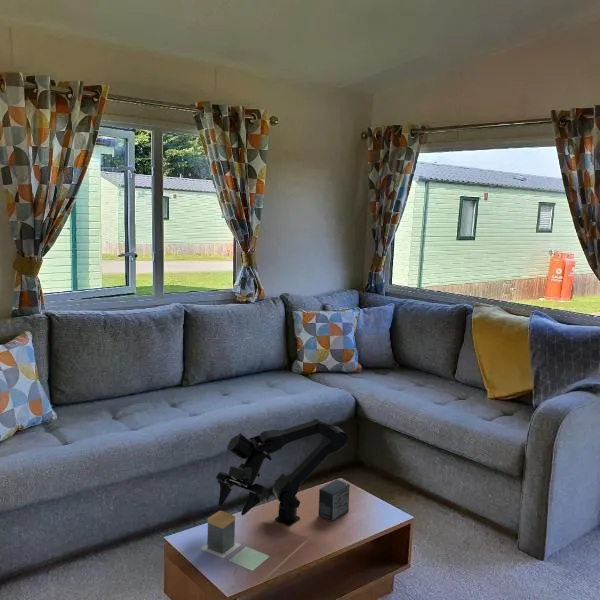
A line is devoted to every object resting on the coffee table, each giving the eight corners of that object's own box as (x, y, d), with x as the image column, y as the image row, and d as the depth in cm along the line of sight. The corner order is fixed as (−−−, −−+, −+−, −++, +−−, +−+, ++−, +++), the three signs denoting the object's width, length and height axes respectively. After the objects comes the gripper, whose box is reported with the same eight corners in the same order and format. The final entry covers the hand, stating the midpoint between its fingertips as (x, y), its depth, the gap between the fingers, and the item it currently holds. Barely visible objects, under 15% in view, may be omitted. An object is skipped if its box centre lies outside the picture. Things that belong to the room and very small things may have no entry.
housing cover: (219, 519, 188) (220, 510, 187) (234, 525, 185) (235, 515, 184) (207, 527, 183) (207, 518, 182) (222, 533, 180) (223, 524, 179)
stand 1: (218, 538, 191) (218, 535, 191) (240, 547, 186) (241, 544, 186) (200, 551, 183) (200, 548, 183) (223, 561, 179) (223, 558, 179)
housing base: (219, 539, 189) (219, 514, 188) (234, 545, 186) (234, 520, 185) (207, 548, 184) (207, 522, 183) (222, 554, 181) (222, 528, 179)
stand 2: (246, 549, 185) (246, 546, 185) (269, 559, 181) (269, 556, 181) (228, 563, 178) (228, 560, 178) (252, 573, 173) (252, 570, 173)
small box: (334, 505, 216) (336, 478, 214) (349, 511, 212) (350, 484, 210) (317, 515, 208) (318, 488, 206) (332, 522, 204) (333, 494, 202)
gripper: (219, 448, 194) (196, 492, 187) (265, 463, 185) (243, 510, 177) (233, 462, 202) (212, 505, 195) (278, 477, 193) (258, 523, 185)
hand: (230, 510), depth 188 cm, fingers open, 9 cm apart
